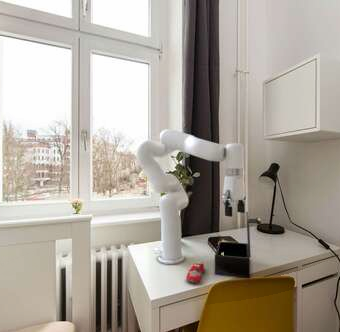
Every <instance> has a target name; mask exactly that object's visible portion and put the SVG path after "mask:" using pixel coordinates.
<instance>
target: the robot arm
mask: <svg viewBox="0 0 340 332" xmlns="http://www.w3.org/2000/svg"><path fill="white" fill-rule="evenodd" d="M175 151H180V152H183V153H186V154H187V155H191V156H194V157H197V158H200V159H202V160H206V161H210V162H217V163H218V162H225V177H224V181H223V192H222V193H223V194H222V195H221V199H222V203H223V206H224V216H225V217H230V218H232V217H233V203H234V202H237V203H236V204H237V205H236V209H237V213H240V214H244V213H246V212H245V211H246V210H245V208H246V207H245V204H246V199H247V197H246V196H247V192H246V185H245V146H244V144H243V143H240V142H236V143H235V142H232V143H227V144H220V143H216V142H213V141H209V140H206V139H202V138H199V137H197V136H195V135H192V134H190V133H189V134H188V133H185V132H182V131H178V130H174V129H172V128H166V129H163V130H162V131H161V132H160V134H159V140H154V139H144V140H142V141H140V142H139V143H138V145H137V147H136V153H135V154H136V159H137V160H136V161H137V162H138V164H139V166H140V167H141V169H142V171H143V172H144V174H145V176H146V179H147V181H148V182H149V183H150V186H151V187H152V189H153V191H154V192H155V193H157V194H163V195H161V197H160V199H159V201H158V207H159V212H160V214H159V215H160V225H161V226H160V227H161V228H160V231H161V232H160V236H161V237H160V239H161V241H160V243H161V245H160V246H161V247H160V248H157V247H154V248H153V254H155V255H158V262H160V263H162V264H165V265H176V264H179V263H182V262H183V261H185V259H186V258H185V257H186V256H185V254H184V253H182V219H181V216H180V212H179V211H181V210H184V209H185V208H187V207H188V206H189V196H188V194H187V192H186V190H185V188H184V187H183V185H182V183H181V181H180V180H179V179H178V177H177V176H176V175H174V174H172V173H166V172H165V171H164V169H163V168H162V166H161V165H160V163H159V161H157V160H156V159H155V158H157V159H158V158H164V157H166V156H168V155H170V154H172V153H173V152H175Z"/></svg>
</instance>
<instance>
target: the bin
mask: <svg viewBox="0 0 340 332" xmlns="http://www.w3.org/2000/svg"><path fill="white" fill-rule="evenodd" d="M221 252H224V256H223V255H221ZM250 259H251V257H248V243H247V242H234V241H218V244H217V248H216V250H215V254H214V275H217V276H224V277H234V278H242V279H251V271H250V270H251V267H250V266H251V264H250Z"/></svg>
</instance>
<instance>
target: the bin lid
mask: <svg viewBox="0 0 340 332" xmlns="http://www.w3.org/2000/svg"><path fill="white" fill-rule="evenodd" d="M245 215H246V216H245V217H246V240H247V241H246V243H247V244H248V257H249V258H251V257H252V256H251V237H250V236H251V233H250V231H251V230H250V224H256V225H259V226H260V225H261V224H262V222H261V221H262V220H261V219H260V217H256V218H249V211H246V212H245Z"/></svg>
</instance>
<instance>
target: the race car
mask: <svg viewBox="0 0 340 332" xmlns="http://www.w3.org/2000/svg"><path fill="white" fill-rule="evenodd" d="M205 267H206V266H205V264H204V263H203V262H194V263H193V264H192V265H191V267H190V268H189V269H188V273H187V275H186V279H185V280H186V282H187V283H190V284H199V283H201V280H202V278H203V275H204V274H205V271H206V270H205V269H206V268H205Z"/></svg>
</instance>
